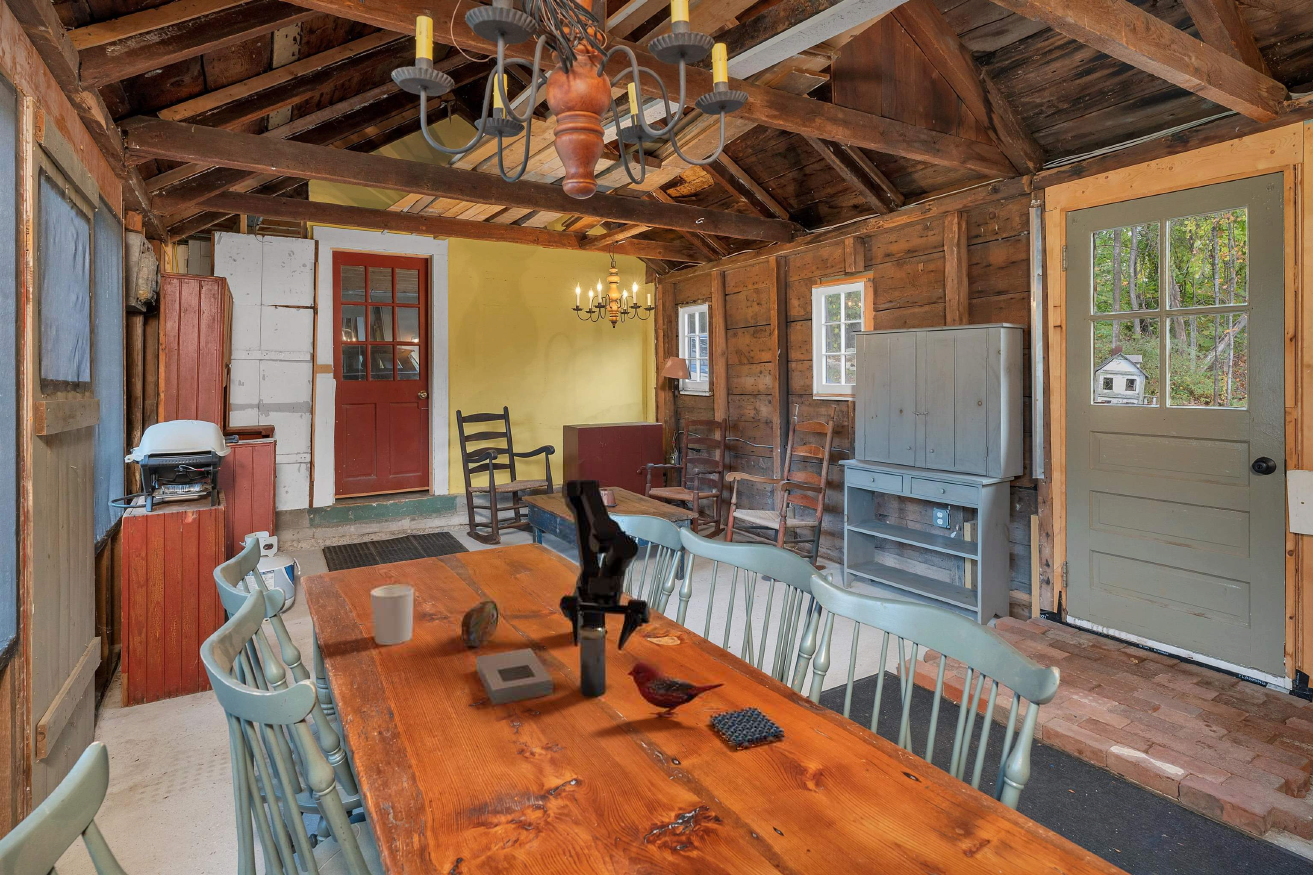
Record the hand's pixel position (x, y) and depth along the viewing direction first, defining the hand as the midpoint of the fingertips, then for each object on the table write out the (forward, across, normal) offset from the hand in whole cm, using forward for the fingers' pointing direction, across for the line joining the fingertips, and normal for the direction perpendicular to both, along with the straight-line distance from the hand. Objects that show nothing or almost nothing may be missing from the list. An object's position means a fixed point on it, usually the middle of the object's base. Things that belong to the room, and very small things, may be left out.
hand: (597, 647), depth 139 cm
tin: (-7, -34, +18) cm, 39 cm away
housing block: (+7, -17, +3) cm, 19 cm away
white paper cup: (-4, -55, +16) cm, 57 cm away
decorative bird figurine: (+13, +18, -3) cm, 23 cm away
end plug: (+8, 0, +2) cm, 8 cm away
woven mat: (+16, +31, -5) cm, 35 cm away
